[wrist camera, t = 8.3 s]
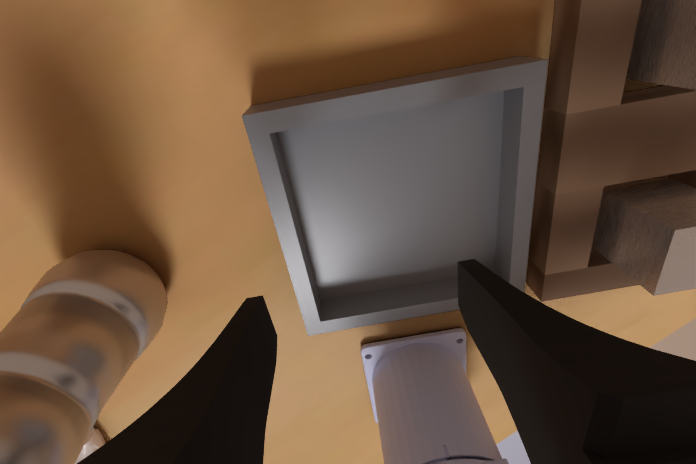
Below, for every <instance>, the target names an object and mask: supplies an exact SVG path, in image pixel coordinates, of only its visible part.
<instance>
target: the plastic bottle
mask: <svg viewBox="0 0 696 464" xmlns="http://www.w3.org/2000/svg"><path fill="white" fill-rule="evenodd" d="M167 303H168V301H167V293H166V291H165V288H164V285H163V283H162V281H161V279H160V278H159V276H158V274H157V273H156V272H155V271H154V270H153V269H152V268H151V267H150V266H149V265H148V264H146V263H145V262H144V261H142V260H140V259H138V258H137V257H135V256H132V255H130V254H127V253H124V252H120V251H114V250H89V251H84V252H79V253H77V254H75V255H73V256H71V257H69V258H67V259H66V260H64V261H62V262H61V263H59V264H57V265H55V266H54V267H52V268H51V269H50V270H49V271H47V272H46V273H45V274H44V276H43V277H42V278H41V279H40V281H39V282H38V283H37V284H36V286H35V287H34V288H33V290H32V291H31V292H30V294H29V295H28V297H27V298H26V300H25V302H24V303H23V305H22V307H21V309H20V310H19V312H18V313H17V314H16V315H15V316H14V317H13V318H12V320H11V321H10V322H9V323H8V324H7V325H6V327H5V328H4V329H3V330H2V331H1V332H0V464H75V462H76V460H77V458H78V456H79V454H80V452H81V450H82V448H83V446H84V444H85V442H86V440H87V438H88V436H89V432H90V431H91V430H92V428H93V426H94V424H95V422H96V420H97V418H98V416H99V414H100V412H101V410H102V408H103V407H104V405H105V404H106V402H107V401H108V399H109V398H110V396H111V395H112V394H113V392H114V391H115V389H116V388H117V386H118V385H119V383H120V382H121V380H122V379H123V377H124V376H125V374H126V373H127V371H128V370H129V368H130V367H131V365H132V364H133V362H134V361H135V360H136V359H137V358H138V357H139V356H140V355H141V354H142V352H143V351H144V350H145V349H146V348H147V347H148V346H149V344H150V343H151V342H152V340H153V339H154V337H155V336H156V335H157V333H158V332H159V330H160V328H161V326H162V324H163V320H164V316H165V312H166V308H167Z"/></svg>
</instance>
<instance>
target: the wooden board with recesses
mask: <svg viewBox="0 0 696 464" xmlns="http://www.w3.org/2000/svg"><path fill="white" fill-rule="evenodd" d="M641 1H642V0H555V9H554V19H553V28H552V38H551V48H550V57H549V67H548V77H547V86H546V96H545V106H544V116H543V125H542V135H541V145H540V154H539V164H538V174H537V183H536V193H535V203H534V213H533V222H532V232H531V242H530V251H529V261H528V271H527V281H526V283H527V285H528V286H529V287H530V288H531V290H532V291H533V292H534V293H535V294H536V296H537V297H538V298H539V299H540V301H541V302H542V301H547V300H553V299H559V298H565V297H571V296H576V295H582V294H588V293H594V292H600V291H606V290H611V289H617V288H623V287H629V286H635V285H639V284H638V283H637V282H636V281H634V280H633V279H632V278H631V277H629V276H628V275H627V274H626V273H624V272H623V271H622V270H621V269H619V268H618V267H617V266H615V265H614V264H613V263H612V262H610V261H609V260H608V259H607V258H605V257H604V256H603V255H602V254H600V253H599V252H598V251H597V250H595V249H594V248H593V247H592V242H593V237H594V232H595V228H596V223H597V218H598V213H599V208H600V203H601V198H602V193H603V188H604V186H608V185H614V184H620V183H625V182H631V181H636V180H642V179H648V178H653V177H659V176H665V175H669V176H668V177H670V178H672V179H675V180H677V181H680V182H682V183H684V184H687V185H689V186H692V187H694V188H696V90H693V89H687V88H681V87H674V86H668V85H663V86H658V87H652V88H647V89H641V90H636V91H630V92H625V93H623V90H624V85H625V80H626V75H627V70H628V65H629V60H630V55H631V50H632V45H633V41H634V36H635V31H636V26H637V21H638V16H639V11H640V6H641Z"/></svg>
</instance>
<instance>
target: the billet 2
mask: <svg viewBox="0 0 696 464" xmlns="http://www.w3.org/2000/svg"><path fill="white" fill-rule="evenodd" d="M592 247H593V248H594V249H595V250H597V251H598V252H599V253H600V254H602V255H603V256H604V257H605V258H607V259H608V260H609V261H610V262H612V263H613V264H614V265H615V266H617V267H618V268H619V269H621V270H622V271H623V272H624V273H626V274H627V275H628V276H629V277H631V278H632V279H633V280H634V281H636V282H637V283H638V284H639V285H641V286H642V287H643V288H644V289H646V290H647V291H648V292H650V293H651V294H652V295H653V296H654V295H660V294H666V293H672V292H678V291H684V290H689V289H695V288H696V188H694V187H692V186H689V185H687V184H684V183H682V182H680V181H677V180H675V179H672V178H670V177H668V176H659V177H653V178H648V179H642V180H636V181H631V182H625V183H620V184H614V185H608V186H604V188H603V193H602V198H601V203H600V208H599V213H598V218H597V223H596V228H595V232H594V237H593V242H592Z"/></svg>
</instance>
